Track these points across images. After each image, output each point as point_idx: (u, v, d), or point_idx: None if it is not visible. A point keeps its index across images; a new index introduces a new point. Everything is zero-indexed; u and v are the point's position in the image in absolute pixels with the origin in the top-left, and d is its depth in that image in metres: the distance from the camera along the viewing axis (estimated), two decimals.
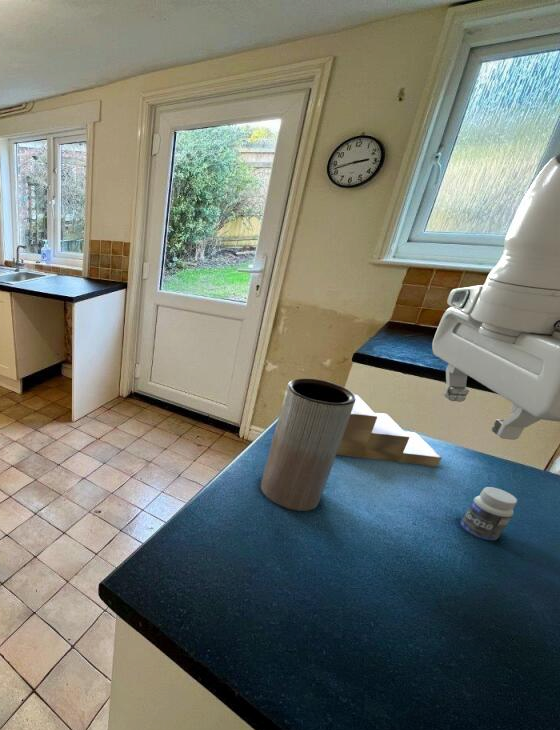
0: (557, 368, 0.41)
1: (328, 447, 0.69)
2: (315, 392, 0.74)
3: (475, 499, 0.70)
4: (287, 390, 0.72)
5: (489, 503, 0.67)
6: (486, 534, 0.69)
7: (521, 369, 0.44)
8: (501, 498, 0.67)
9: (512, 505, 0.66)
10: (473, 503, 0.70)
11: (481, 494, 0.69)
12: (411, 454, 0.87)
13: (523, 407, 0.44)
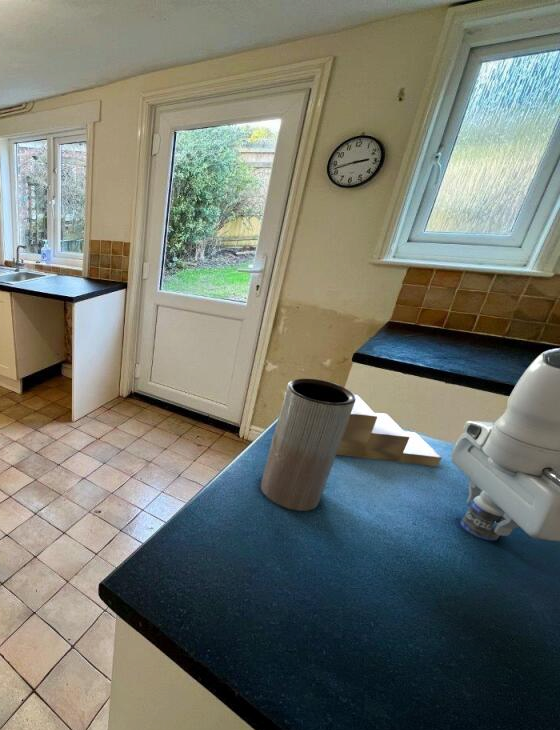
0: (544, 506, 0.58)
1: (328, 447, 0.69)
2: (315, 392, 0.74)
3: (475, 499, 0.70)
4: (287, 390, 0.72)
5: (489, 503, 0.67)
6: (486, 534, 0.69)
7: (519, 498, 0.62)
8: None
9: None
10: (473, 503, 0.70)
11: (481, 494, 0.69)
12: (411, 454, 0.87)
13: (520, 526, 0.62)
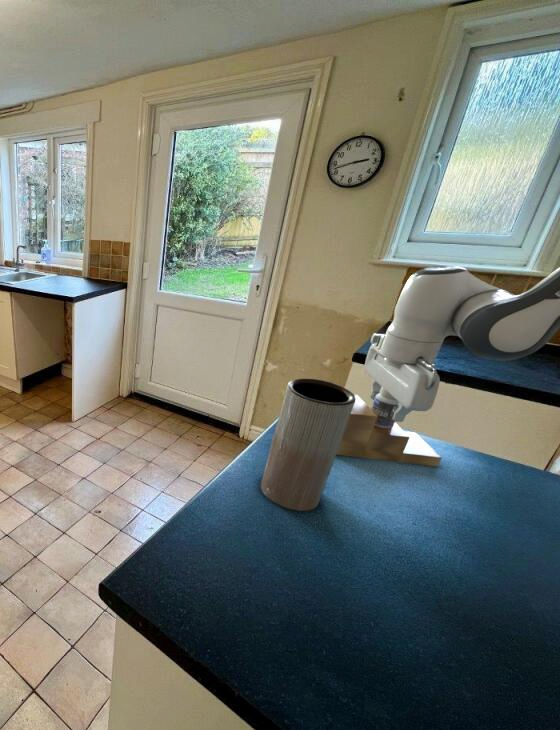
0: (414, 383, 0.78)
1: (328, 447, 0.69)
2: (315, 392, 0.74)
3: (376, 395, 0.89)
4: (287, 390, 0.72)
5: (385, 395, 0.87)
6: (384, 421, 0.88)
7: (401, 383, 0.82)
8: None
9: None
10: (375, 398, 0.89)
11: (380, 390, 0.88)
12: (411, 454, 0.87)
13: (401, 403, 0.81)
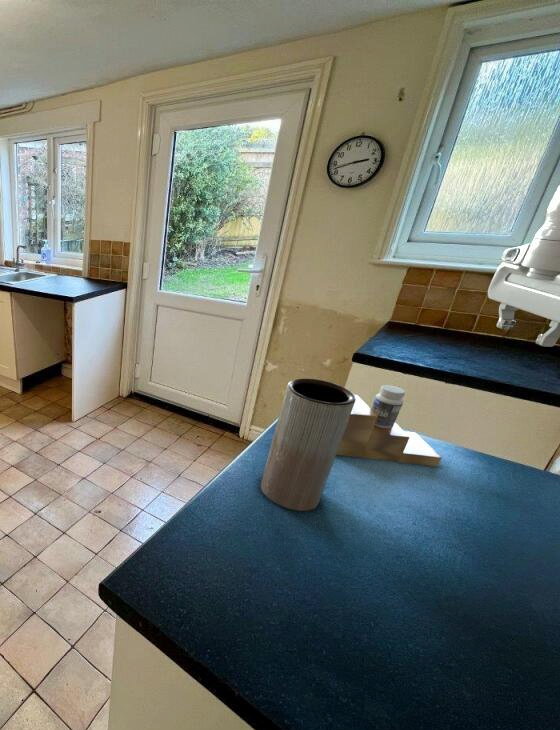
0: None
1: (328, 447, 0.69)
2: (315, 392, 0.74)
3: (376, 395, 0.89)
4: (287, 390, 0.72)
5: (385, 395, 0.87)
6: (384, 421, 0.88)
7: (558, 297, 0.68)
8: (393, 391, 0.86)
9: (400, 395, 0.85)
10: (375, 398, 0.89)
11: (380, 390, 0.88)
12: (411, 454, 0.87)
13: (559, 320, 0.67)
